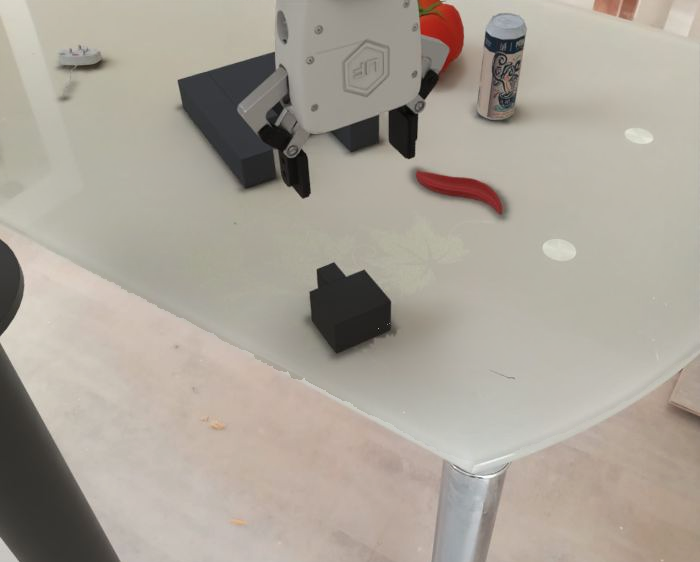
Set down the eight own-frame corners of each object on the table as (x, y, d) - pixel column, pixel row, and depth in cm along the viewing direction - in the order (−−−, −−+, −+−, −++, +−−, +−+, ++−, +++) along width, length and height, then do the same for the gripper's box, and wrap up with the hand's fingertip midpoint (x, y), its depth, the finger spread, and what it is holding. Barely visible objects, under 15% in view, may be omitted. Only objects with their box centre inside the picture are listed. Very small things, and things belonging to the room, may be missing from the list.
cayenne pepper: (513, 205, 86) (516, 191, 85) (486, 224, 84) (488, 210, 83) (435, 160, 92) (436, 146, 91) (408, 176, 90) (408, 162, 89)
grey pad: (245, 188, 89) (240, 159, 86) (182, 107, 101) (177, 79, 98) (379, 142, 95) (379, 113, 92) (305, 70, 106) (303, 42, 103)
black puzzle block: (336, 354, 72) (334, 325, 69) (300, 305, 77) (297, 276, 74) (390, 330, 74) (391, 301, 71) (353, 284, 79) (352, 254, 76)
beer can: (494, 127, 96) (506, 34, 87) (468, 111, 99) (477, 19, 90) (521, 114, 98) (536, 22, 89) (495, 98, 101) (507, 7, 92)
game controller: (101, 51, 111) (96, 33, 109) (107, 92, 104) (102, 74, 102) (60, 57, 110) (55, 39, 108) (63, 99, 103) (58, 81, 101)
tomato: (486, 66, 106) (494, 2, 100) (425, 102, 101) (429, 37, 94) (412, 32, 113) (414, -29, 106) (351, 64, 107) (349, 1, 101)
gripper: (244, 6, 45) (275, 231, 58) (485, -62, 50) (465, 158, 63) (196, -39, 50) (235, 179, 63) (422, -97, 55) (415, 116, 68)
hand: (351, 169), depth 63 cm, fingers open, 9 cm apart
